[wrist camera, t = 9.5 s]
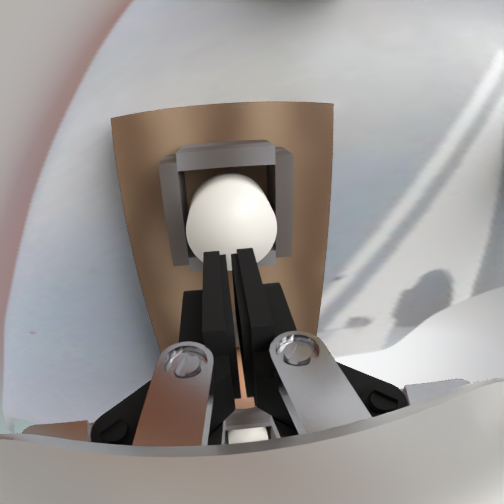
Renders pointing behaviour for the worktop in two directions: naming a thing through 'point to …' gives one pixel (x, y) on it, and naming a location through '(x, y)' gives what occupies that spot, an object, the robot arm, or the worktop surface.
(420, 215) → the worktop surface
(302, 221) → the button board
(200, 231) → the off-white plunger
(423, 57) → the worktop surface
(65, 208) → the worktop surface
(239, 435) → the off-white plunger
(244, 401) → the terracotta plunger
